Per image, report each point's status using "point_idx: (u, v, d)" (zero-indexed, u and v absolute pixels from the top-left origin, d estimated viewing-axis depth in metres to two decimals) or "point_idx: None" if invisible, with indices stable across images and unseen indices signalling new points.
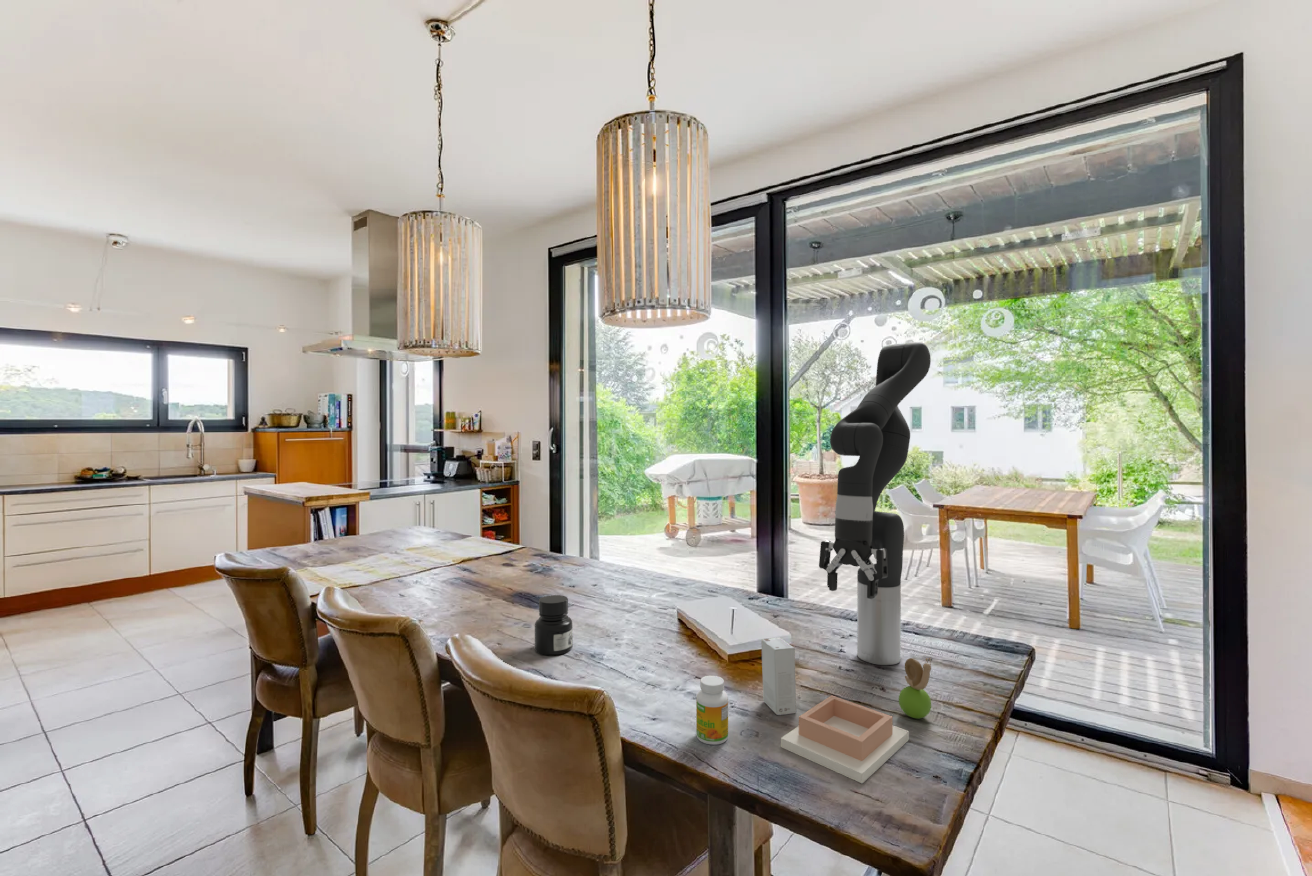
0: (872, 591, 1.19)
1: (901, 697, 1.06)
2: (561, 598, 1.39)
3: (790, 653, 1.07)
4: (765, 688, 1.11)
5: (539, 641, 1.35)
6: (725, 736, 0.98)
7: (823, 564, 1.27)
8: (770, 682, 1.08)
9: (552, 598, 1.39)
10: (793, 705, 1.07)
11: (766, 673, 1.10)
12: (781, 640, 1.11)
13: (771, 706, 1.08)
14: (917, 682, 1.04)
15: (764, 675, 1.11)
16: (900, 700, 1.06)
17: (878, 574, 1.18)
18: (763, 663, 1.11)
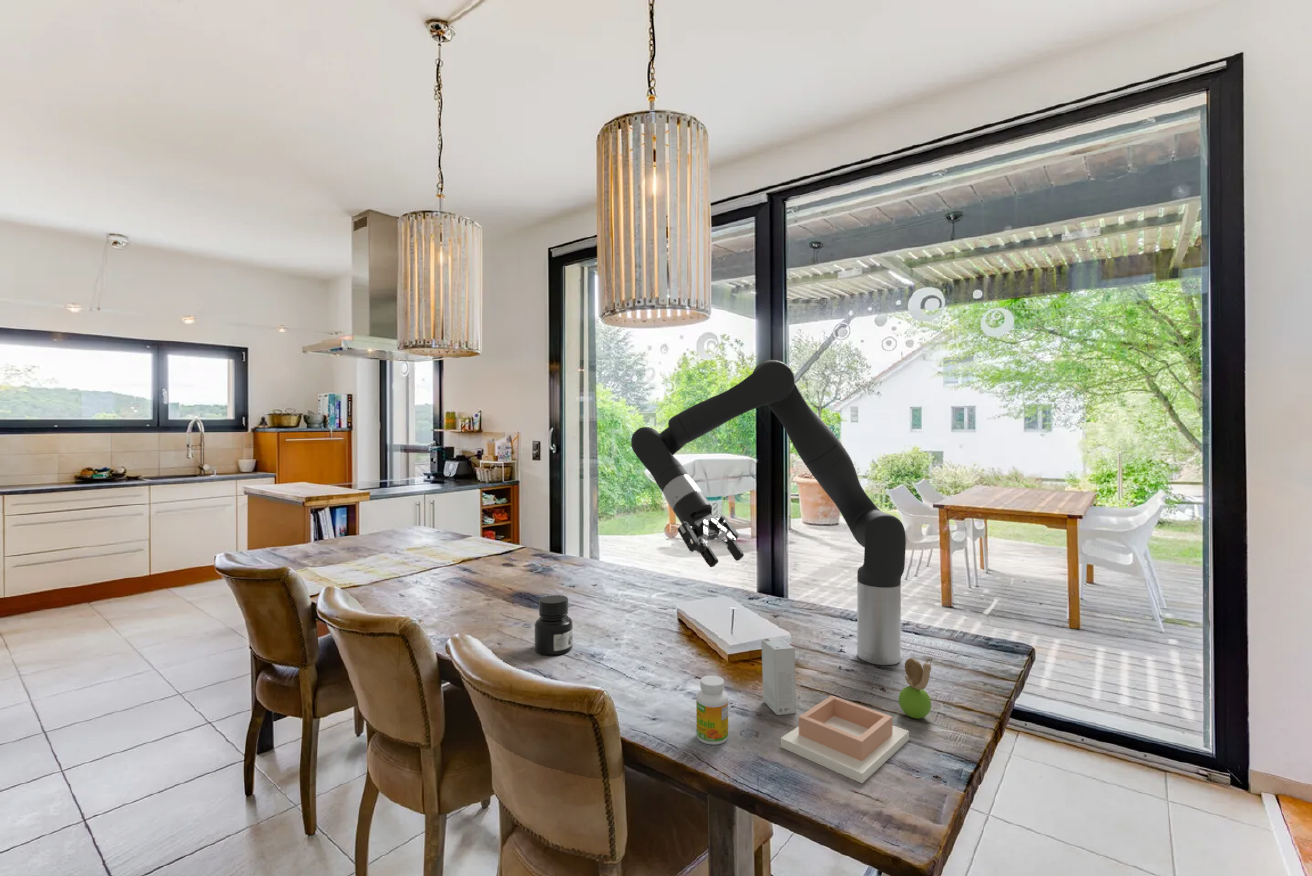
0: None
1: (901, 697, 1.06)
2: (562, 598, 1.39)
3: (790, 653, 1.07)
4: (765, 688, 1.11)
5: (539, 641, 1.35)
6: (725, 736, 0.98)
7: None
8: (770, 682, 1.08)
9: (552, 598, 1.39)
10: (793, 705, 1.07)
11: (766, 673, 1.10)
12: (781, 640, 1.11)
13: (771, 706, 1.08)
14: (917, 682, 1.04)
15: (764, 675, 1.11)
16: (900, 700, 1.06)
17: None
18: (763, 663, 1.11)
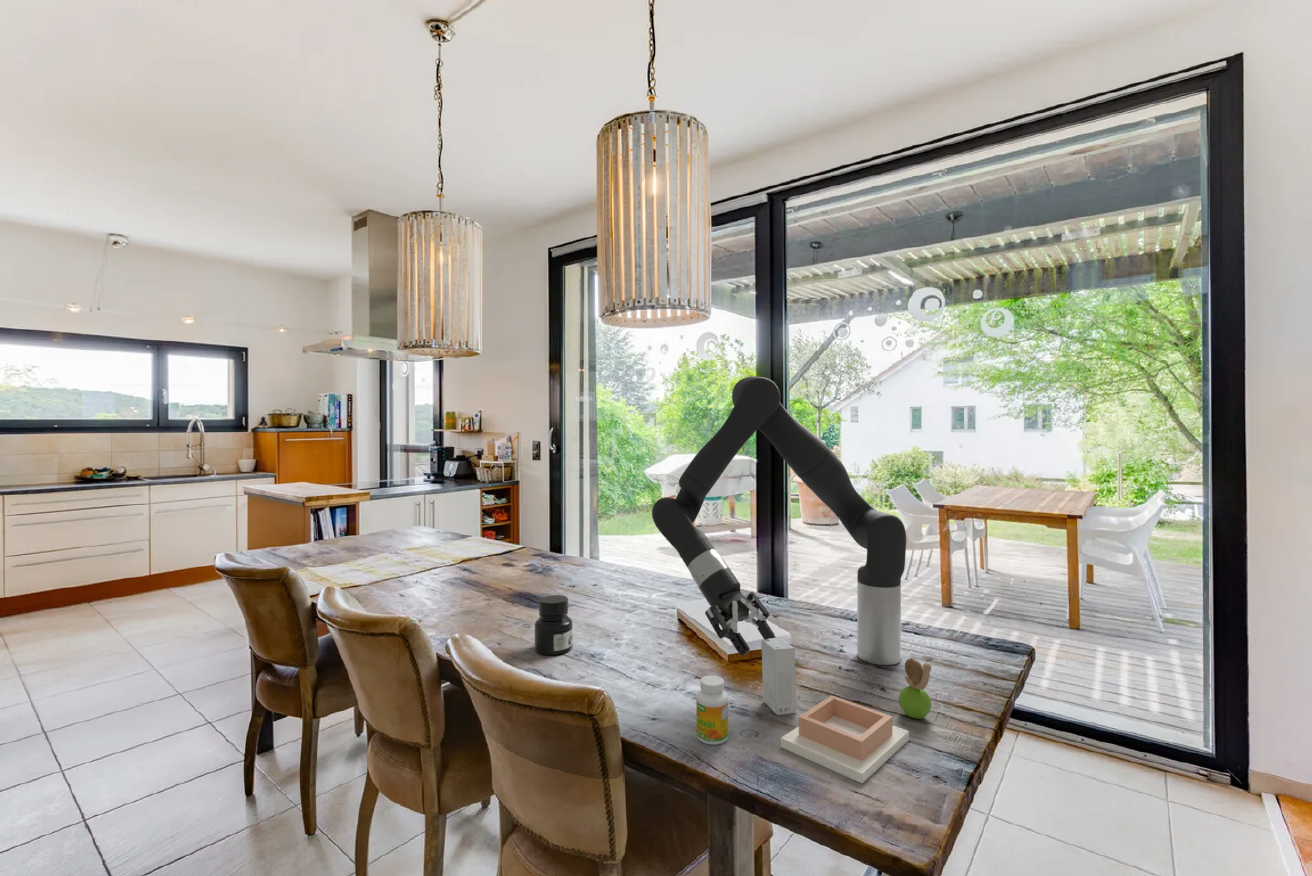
0: None
1: (901, 697, 1.06)
2: (561, 598, 1.39)
3: (790, 653, 1.07)
4: (765, 688, 1.11)
5: (539, 641, 1.35)
6: (725, 736, 0.98)
7: None
8: (770, 682, 1.08)
9: (552, 598, 1.39)
10: (793, 705, 1.07)
11: (766, 673, 1.10)
12: (781, 640, 1.11)
13: (771, 706, 1.08)
14: (917, 682, 1.04)
15: (764, 675, 1.11)
16: (900, 700, 1.06)
17: None
18: (763, 663, 1.11)
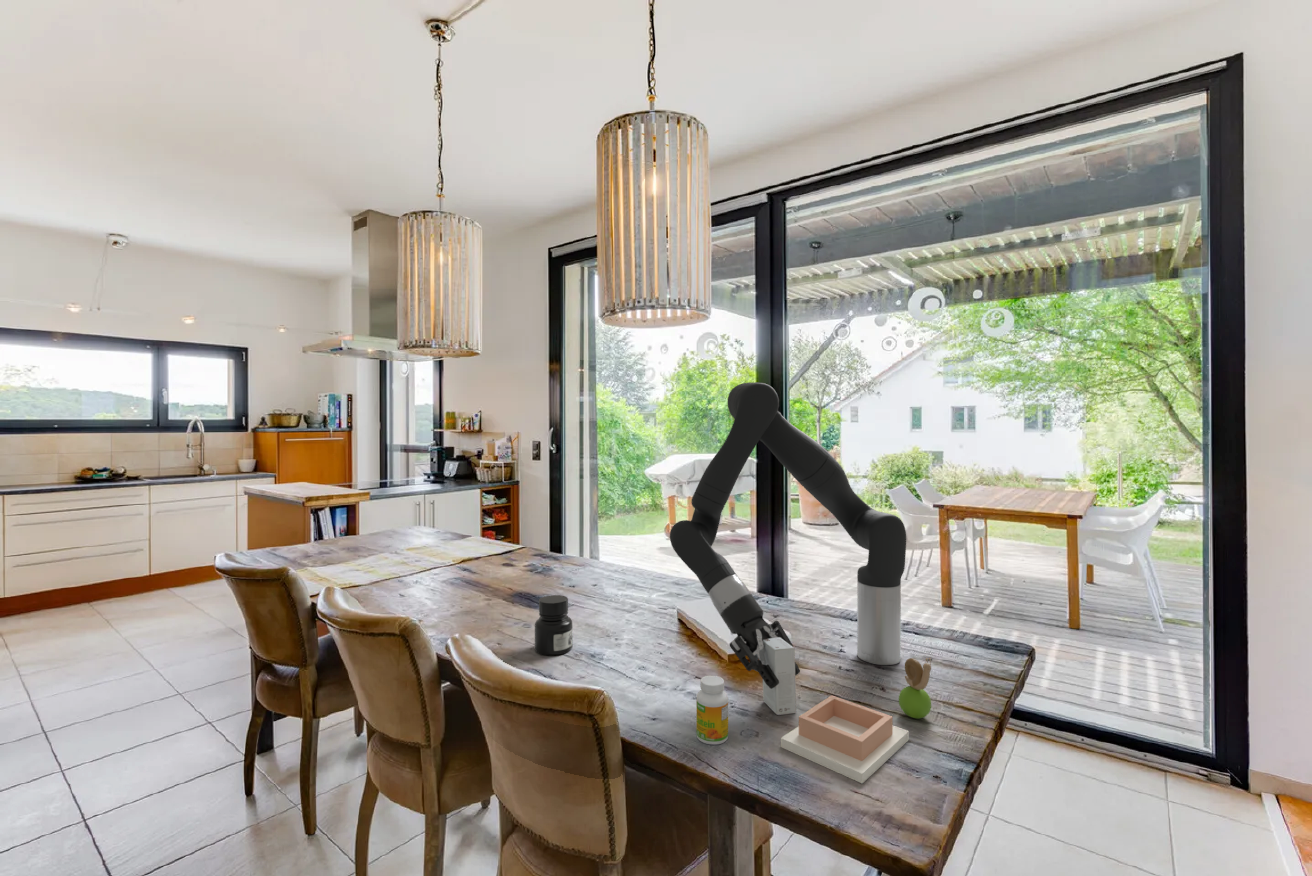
0: None
1: (901, 697, 1.06)
2: (561, 598, 1.39)
3: (790, 653, 1.07)
4: (765, 688, 1.11)
5: (539, 641, 1.35)
6: (725, 736, 0.98)
7: None
8: None
9: (552, 598, 1.39)
10: (793, 705, 1.07)
11: None
12: (781, 640, 1.11)
13: (771, 706, 1.08)
14: (917, 682, 1.04)
15: None
16: (900, 700, 1.06)
17: None
18: None
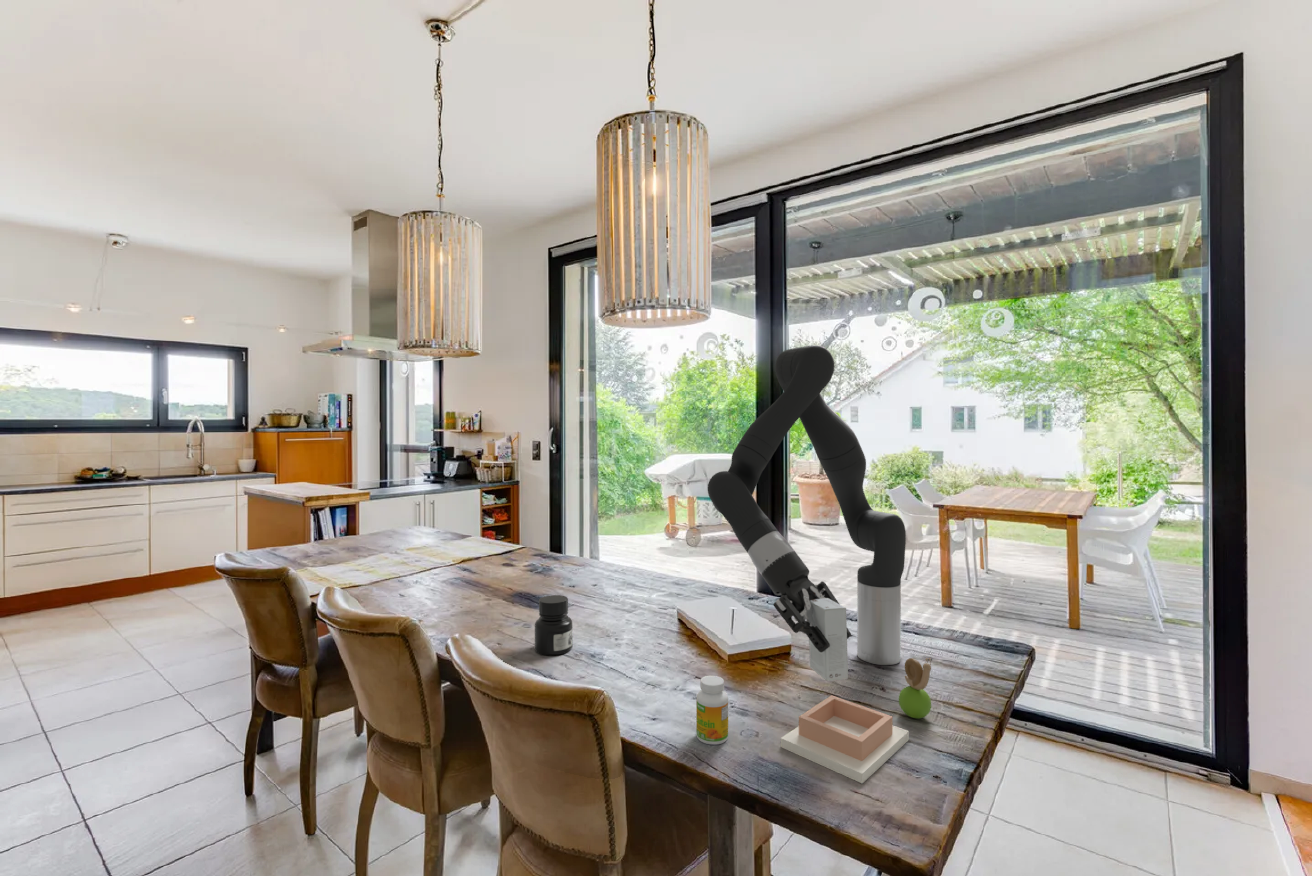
0: None
1: (901, 697, 1.06)
2: (562, 598, 1.39)
3: (841, 613, 0.97)
4: (812, 653, 1.01)
5: (539, 641, 1.35)
6: (725, 736, 0.98)
7: None
8: None
9: (552, 598, 1.39)
10: (845, 671, 0.97)
11: None
12: (830, 600, 1.01)
13: (820, 672, 0.98)
14: (917, 682, 1.04)
15: None
16: (900, 700, 1.06)
17: None
18: None
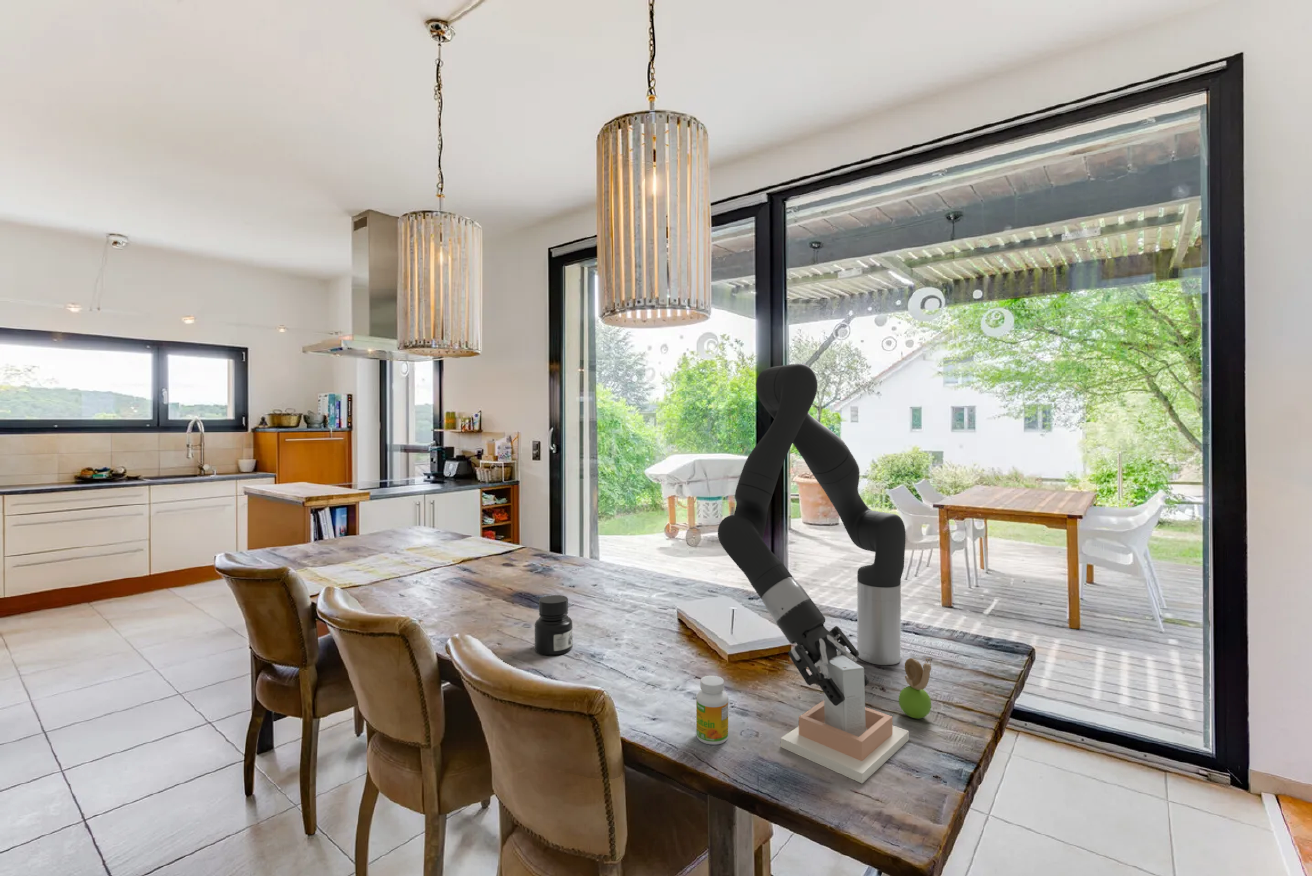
0: None
1: (901, 697, 1.06)
2: (562, 598, 1.39)
3: (859, 674, 0.94)
4: (828, 713, 0.98)
5: (539, 641, 1.35)
6: (725, 736, 0.98)
7: None
8: (836, 707, 0.95)
9: (552, 598, 1.39)
10: (863, 732, 0.95)
11: None
12: (845, 658, 0.98)
13: None
14: (917, 682, 1.04)
15: (827, 698, 0.98)
16: (900, 700, 1.06)
17: None
18: None
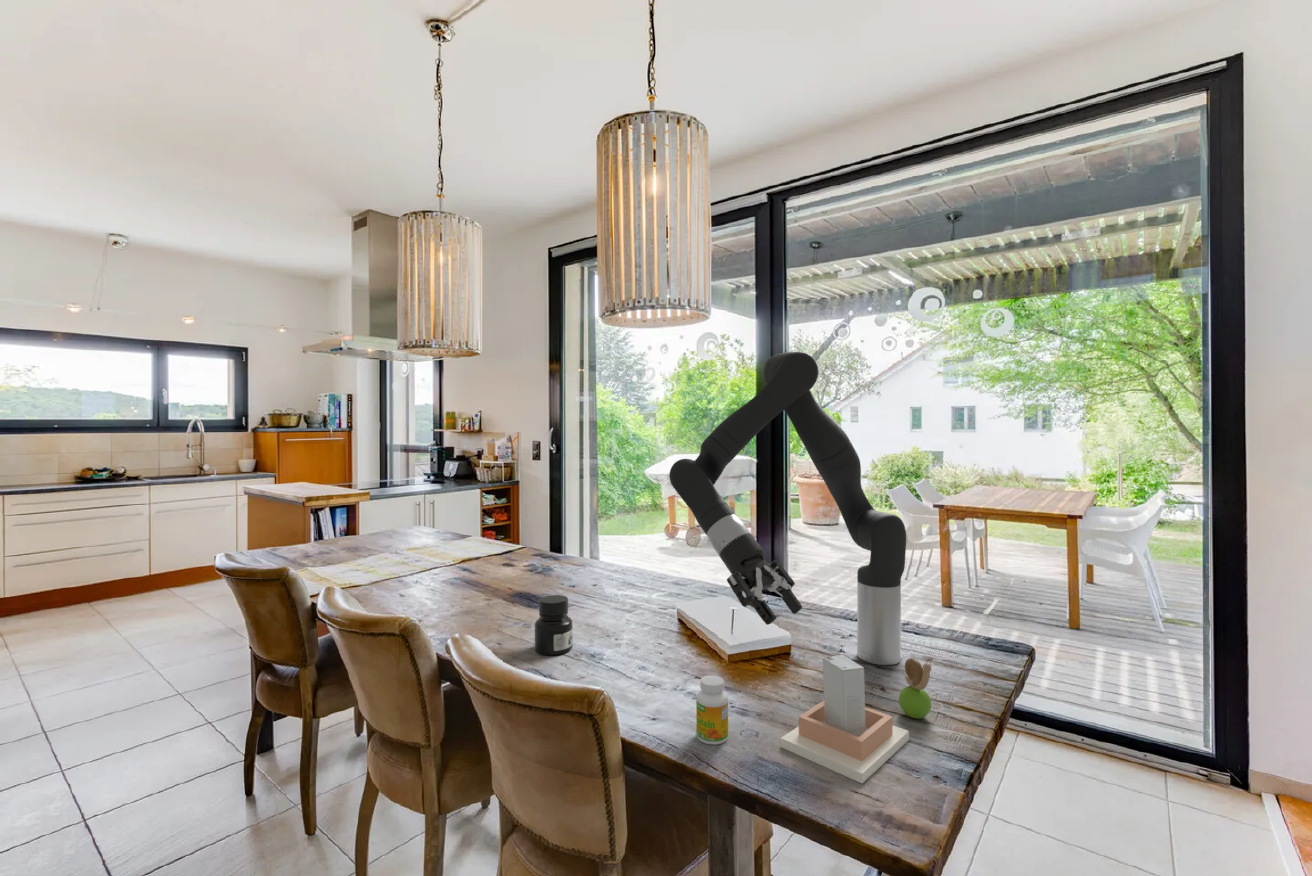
0: None
1: (901, 697, 1.06)
2: (562, 598, 1.39)
3: (859, 674, 0.94)
4: (828, 713, 0.98)
5: (539, 641, 1.35)
6: (725, 736, 0.98)
7: (782, 588, 1.12)
8: (836, 707, 0.95)
9: (552, 598, 1.39)
10: (863, 732, 0.95)
11: (830, 696, 0.97)
12: (845, 658, 0.98)
13: None
14: (917, 682, 1.04)
15: (827, 698, 0.98)
16: (900, 700, 1.06)
17: None
18: (826, 684, 0.98)
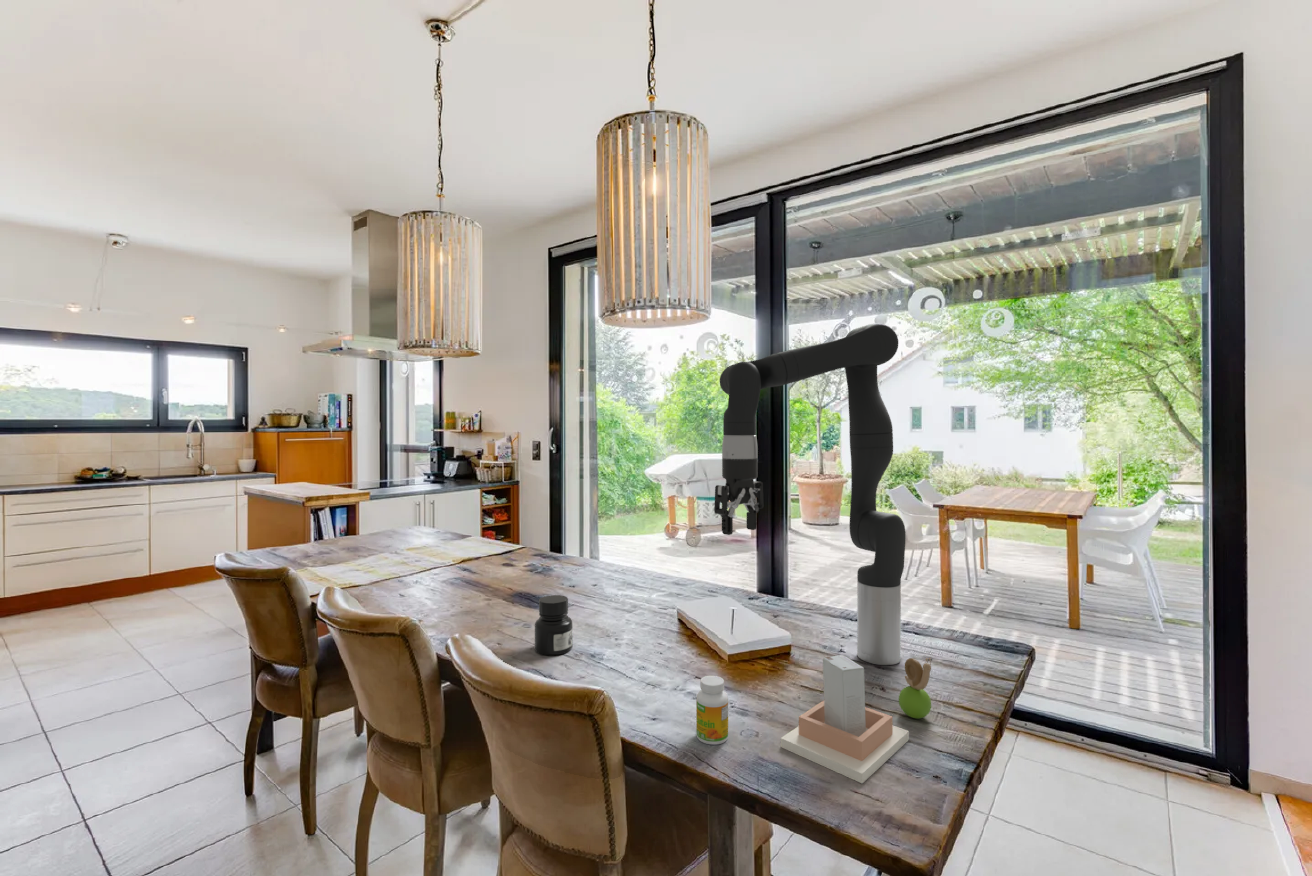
0: None
1: (901, 697, 1.06)
2: (561, 598, 1.39)
3: (859, 674, 0.94)
4: (828, 713, 0.98)
5: (539, 641, 1.35)
6: (725, 736, 0.98)
7: None
8: (836, 707, 0.95)
9: (552, 598, 1.39)
10: (863, 732, 0.95)
11: (830, 696, 0.97)
12: (845, 658, 0.98)
13: None
14: (917, 682, 1.04)
15: (827, 698, 0.98)
16: (900, 700, 1.06)
17: None
18: (826, 684, 0.98)
